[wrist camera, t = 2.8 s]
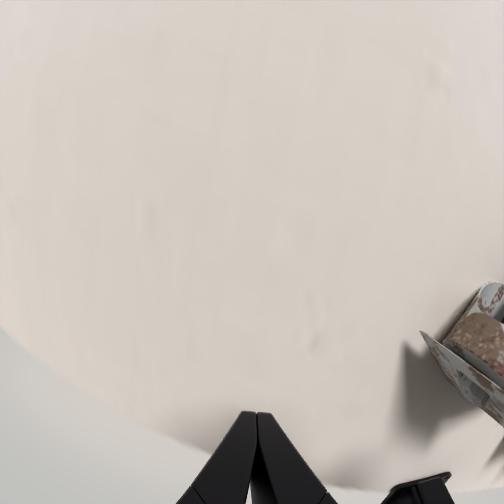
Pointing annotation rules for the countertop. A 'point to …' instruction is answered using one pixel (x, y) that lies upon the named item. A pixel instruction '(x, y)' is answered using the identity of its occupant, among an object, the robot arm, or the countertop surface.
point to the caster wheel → (477, 352)
